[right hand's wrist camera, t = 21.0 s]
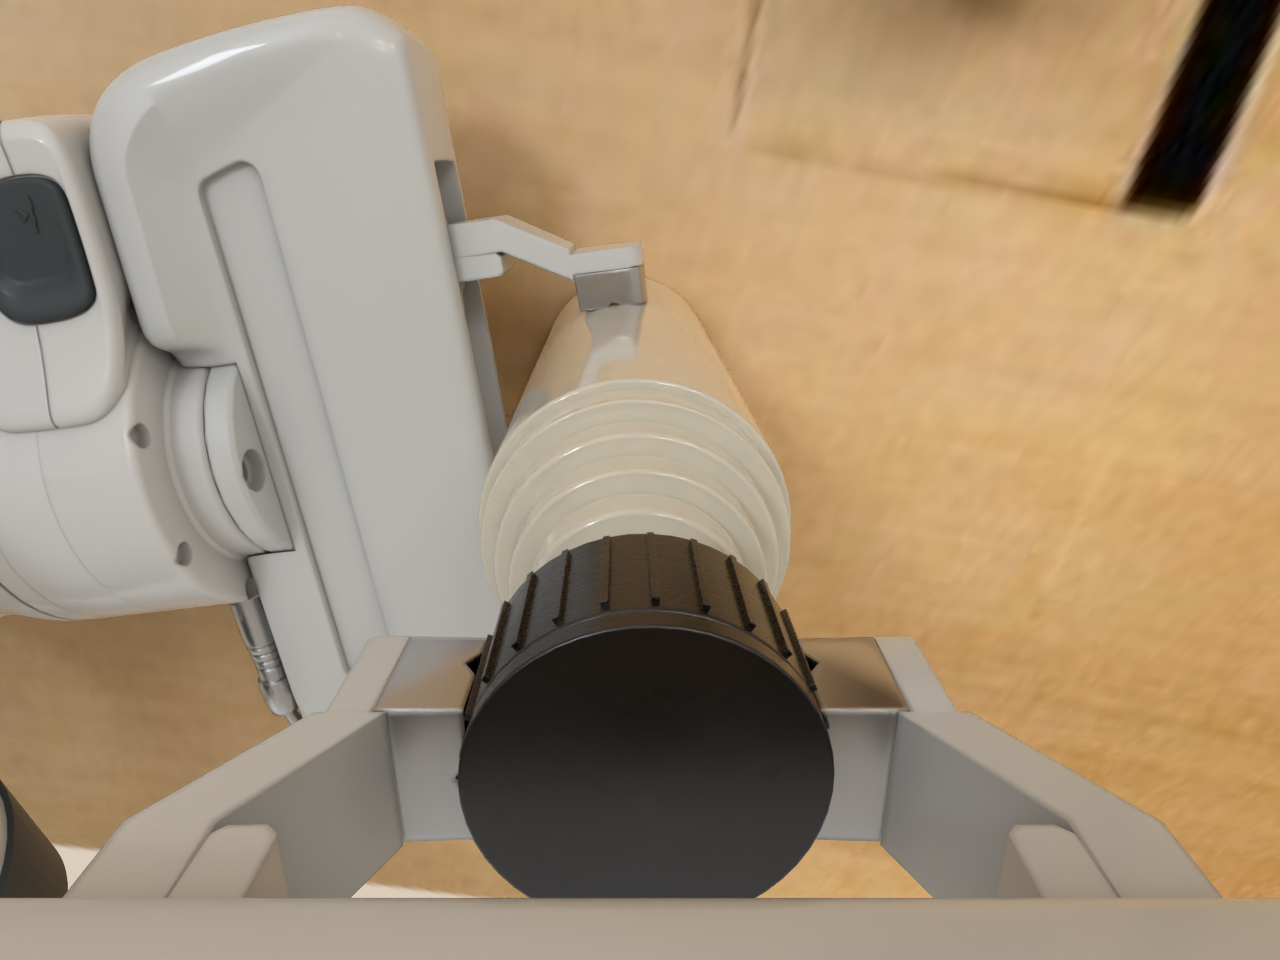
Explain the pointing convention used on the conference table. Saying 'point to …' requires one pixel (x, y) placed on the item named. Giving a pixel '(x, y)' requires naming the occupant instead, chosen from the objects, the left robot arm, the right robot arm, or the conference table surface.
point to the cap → (644, 729)
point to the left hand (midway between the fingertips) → (660, 394)
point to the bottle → (631, 448)
